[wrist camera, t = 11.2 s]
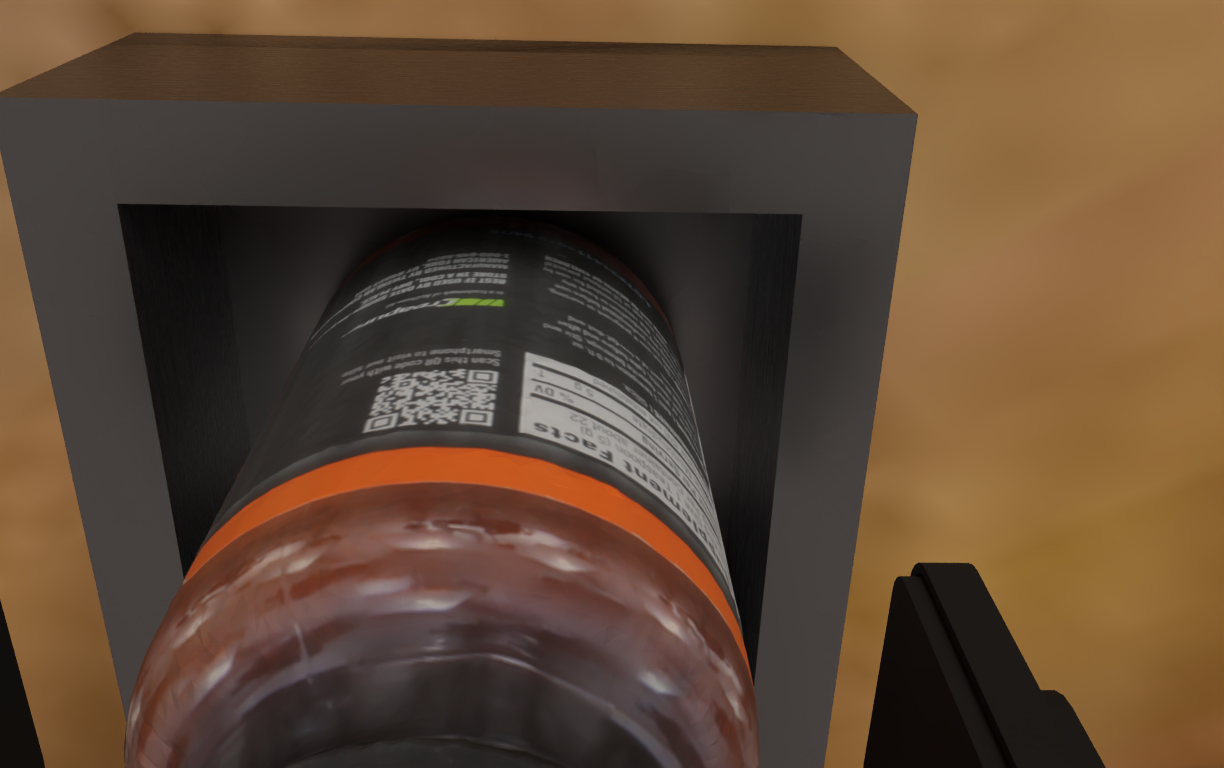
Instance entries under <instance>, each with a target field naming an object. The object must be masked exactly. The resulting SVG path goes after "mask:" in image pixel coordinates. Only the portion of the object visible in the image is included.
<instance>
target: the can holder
mask: <svg viewBox="0 0 1224 768" xmlns="http://www.w3.org/2000/svg"><path fill="white" fill-rule="evenodd" d="M917 117H918V114H917V113H916V112H915V111H913V110H912V109H911V108H910V107H909V106H907V105H906V104H905V103H904V102H903V101H901V100H900V99H899V98H898V97H896V96H895V95H894V94H893V93H892V92H890V91H889V90H888V89H887V88H886V87H884V86H883V85H882V84H881V83H880V82H878V81H877V80H876V79H875V78H874V77H872V76H871V75H870V74H869V73H867V72H866V71H865V70H864V69H863V68H861V67H860V66H859V65H858V64H857V63H855V62H854V61H853V60H852V59H851V58H849V57H848V56H847V55H846V54H845V53H843V52H842V51H841V50H840V49H838V48H837V47H813V46H764V45H715V44H666V43H617V42H568V41H519V40H470V39H421V38H372V37H323V36H274V35H225V34H176V33H133V34H130V35H128V36H126V37H124V38H121V39H119V40H117V41H115V42H112V43H110V44H108V45H106V46H103V47H101V48H99V49H96V50H94V51H92V52H90V53H87V54H85V55H83V56H81V57H78V58H76V59H74V60H71V61H69V62H67V63H65V64H62V65H60V66H58V67H56V68H53V69H51V70H49V71H47V72H44V73H42V74H40V75H37V76H35V77H33V78H31V79H28V80H26V81H24V82H22V83H19V84H17V85H15V86H13V87H10V88H8V89H6V90H3V91H1V92H0V151H1V156H2V160H3V165H4V169H5V174H6V178H7V183H8V187H9V192H10V196H11V201H12V205H13V210H14V215H15V219H16V224H17V228H18V233H19V237H20V242H21V246H22V251H23V255H24V260H25V264H26V269H27V273H28V278H29V282H30V287H31V291H32V296H33V301H34V305H35V310H36V314H37V319H38V323H39V328H40V332H41V337H42V341H43V346H44V350H45V355H46V359H47V364H48V368H49V373H50V378H51V382H52V387H53V391H54V396H55V400H56V405H57V409H58V414H59V418H60V423H61V427H62V432H63V436H64V441H65V445H66V450H67V454H68V459H69V464H70V468H71V473H72V477H73V482H74V486H75V491H76V495H77V500H78V504H79V509H80V513H81V518H82V522H83V527H84V531H85V536H86V540H87V545H88V550H89V554H90V559H91V563H92V568H93V572H94V577H95V581H96V586H97V590H98V595H99V599H100V604H101V608H102V613H103V617H104V622H105V627H106V631H107V636H108V640H109V645H110V649H111V654H112V658H113V663H114V667H115V672H116V676H117V681H118V685H119V690H120V694H121V699H122V703H123V708H124V713H125V717H126V722H127V717H128V709H129V701H130V697H131V694H132V691H133V689H134V686H135V683H136V680H137V677H138V674H139V670H140V667H141V664H142V661H143V659H144V657H145V654H146V652H147V650H148V648H149V646H150V644H151V642H152V639H153V637H154V635H155V633H156V631H157V629H158V628H159V626H160V624H161V622H162V620H163V619H164V617H165V615H166V612H167V610H168V608H169V606H170V604H171V602H172V600H173V598H174V597H175V595H176V594H177V592H178V590H179V588H180V586H181V584H182V582H183V580H184V578H185V576H186V574H187V572H188V570H189V568H190V566H191V564H192V563H193V561H194V559H195V557H196V553H197V552H198V550H199V549H200V546H201V544H202V543H203V541H204V540H205V538H206V536H207V534H208V532H209V530H210V528H211V526H212V524H213V522H214V520H215V518H216V516H217V514H218V513H219V511H220V509H221V507H222V505H223V503H224V501H225V499H226V496H227V495H228V493H229V491H230V490H231V488H232V486H233V484H234V482H235V480H236V478H237V475H238V474H239V472H240V470H241V468H242V466H243V465H244V463H245V462H246V459H247V457H248V455H249V453H250V451H251V449H252V447H253V445H254V443H255V441H256V439H257V437H258V436H259V434H260V432H261V430H262V428H263V426H264V424H265V422H266V421H267V419H268V417H269V415H270V411H271V410H272V408H273V407H274V405H275V403H276V401H277V399H278V398H279V395H280V394H281V392H282V390H283V388H284V385H285V383H286V381H287V379H288V377H289V375H290V374H291V372H292V370H293V368H294V366H295V364H296V363H297V361H298V359H299V358H300V355H301V353H302V351H303V350H304V347H305V346H306V344H307V342H308V340H309V338H310V336H311V334H312V332H313V330H314V329H315V327H316V326H317V324H318V322H319V319H320V317H321V315H322V313H323V312H324V310H325V308H326V306H327V305H328V303H329V301H330V299H331V298H332V297H333V295H334V294H335V293H336V291H337V290H338V289H339V287H340V286H341V284H342V283H343V281H344V280H345V279H346V278H347V277H348V276H349V275H350V274H351V273H352V272H353V271H354V270H355V269H356V268H357V267H358V266H359V265H360V264H361V263H362V262H363V261H365V260H366V259H367V258H368V257H369V256H370V255H372V254H373V253H374V252H376V251H377V250H378V249H380V248H381V247H382V246H384V245H385V244H387V243H389V242H390V241H392V240H394V239H396V238H398V237H400V236H402V235H406V234H407V233H409V232H411V231H412V230H415V229H418V228H420V227H424V226H427V225H430V224H434V223H438V222H442V221H446V220H450V219H454V218H458V217H470V216H481V215H498V216H510V217H518V218H524V219H528V220H540V221H544V222H549V223H552V224H555V225H558V226H560V227H563V228H565V229H568V230H570V231H573V232H575V233H577V234H579V235H581V236H583V237H584V238H586V239H588V240H590V241H592V242H594V243H596V244H597V245H598V246H600V247H601V248H603V249H604V250H606V251H607V252H609V253H610V254H612V255H613V256H615V257H616V258H617V259H619V260H620V261H621V262H622V263H623V264H624V265H625V266H626V267H627V268H629V269H630V270H631V271H632V272H633V273H634V274H635V275H636V276H637V277H638V278H639V279H640V280H641V281H642V283H643V284H644V285H645V287H646V288H647V289H648V291H649V292H650V293H651V295H652V296H653V297H654V298H655V300H656V301H657V302H658V304H659V306H660V307H661V309H662V311H663V313H664V314H665V316H666V318H667V320H668V323H669V325H670V327H671V329H672V331H673V335H674V339H675V341H676V342H677V346H678V350H679V352H680V355H681V359H682V362H683V367H684V373H685V376H686V378H687V383H688V387H689V392H690V397H691V401H692V405H693V410H694V414H695V419H696V424H697V428H698V433H699V437H700V441H701V446H702V451H703V456H704V461H705V465H706V470H707V475H708V479H709V483H710V488H711V492H712V497H713V501H714V505H715V510H716V514H717V519H718V523H719V528H720V532H721V537H722V542H723V546H724V551H725V555H726V560H727V565H728V569H729V574H730V579H731V583H732V588H733V592H734V596H735V600H736V605H737V609H738V613H739V617H740V620H741V625H742V633H743V641H744V646H745V649H746V653H747V657H748V662H749V667H750V672H751V677H752V682H753V687H754V692H755V697H756V707H757V717H758V730H759V752H760V767H759V768H824V761H825V754H826V747H827V740H828V734H829V727H830V720H831V713H832V706H833V699H834V692H835V685H836V678H837V671H838V664H839V657H840V650H841V643H842V637H843V630H844V623H845V616H846V609H847V602H848V595H849V588H850V581H851V574H852V567H853V560H854V553H855V546H856V540H857V533H858V526H859V519H860V512H861V505H862V498H863V491H864V484H865V477H866V470H867V463H868V456H869V449H870V443H871V436H872V429H873V422H874V415H875V408H876V401H877V394H878V387H879V380H880V373H881V366H882V359H883V352H884V346H885V339H886V332H887V325H888V318H889V311H890V304H891V297H892V290H893V283H894V276H895V269H896V262H897V255H898V249H899V242H900V235H901V228H902V221H903V214H904V207H905V200H906V193H907V186H908V179H909V172H910V165H911V158H912V152H913V145H914V138H915V131H916V124H917Z"/></svg>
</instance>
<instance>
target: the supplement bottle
mask: <svg viewBox="0 0 1224 768" xmlns="http://www.w3.org/2000/svg"><path fill="white" fill-rule="evenodd" d="M124 758H125V768H759V767H760V752H759V730H758V717H757V707H756V697H755V692H754V687H753V682H752V677H751V672H750V667H749V662H748V657H747V653H746V649H745V646H744V641H743V633H742V625H741V620H740V617H739V613H738V609H737V605H736V600H735V596H734V592H733V588H732V583H731V579H730V574H729V569H728V565H727V560H726V555H725V551H724V546H723V542H722V537H721V532H720V528H719V523H718V519H717V514H716V510H715V505H714V501H713V497H712V492H711V488H710V483H709V479H708V475H707V470H706V465H705V461H704V456H703V451H702V446H701V441H700V437H699V433H698V428H697V424H696V419H695V414H694V410H693V405H692V401H691V397H690V392H689V387H688V383H687V378H686V376H685V373H684V367H683V362H682V359H681V355H680V352H679V350H678V346H677V342H676V341H675V339H674V335H673V331H672V329H671V327H670V325H669V323H668V320H667V318H666V316H665V314H664V313H663V311H662V309H661V307H660V306H659V304H658V302H657V301H656V300H655V298H654V297H653V296H652V295H651V293H650V292H649V291H648V289H647V288H646V287H645V285H644V284H643V283H642V281H641V280H640V279H639V278H638V277H637V276H636V275H635V274H634V273H633V272H632V271H631V270H630V269H629V268H627V267H626V266H625V265H624V264H623V263H622V262H621V261H620V260H619V259H617V258H616V257H615V256H613V255H612V254H610V253H609V252H607V251H606V250H604V249H603V248H601V247H600V246H598V245H597V244H596V243H594V242H592V241H590V240H588V239H586V238H584V237H583V236H581V235H579V234H577V233H575V232H573V231H570V230H568V229H565V228H563V227H560V226H558V225H555V224H552V223H549V222H544V221H540V220H528V219H524V218H518V217H510V216H498V215H481V216H470V217H458V218H454V219H450V220H446V221H442V222H438V223H434V224H430V225H427V226H424V227H420V228H418V229H415V230H412V231H411V232H409V233H407V234H406V235H402V236H400V237H398V238H396V239H394V240H392V241H390V242H389V243H387V244H385V245H384V246H382V247H381V248H380V249H378V250H377V251H376V252H374V253H373V254H372V255H370V256H369V257H368V258H367V259H366V260H365V261H363V262H362V263H361V264H360V265H359V266H358V267H357V268H356V269H355V270H354V271H353V272H352V273H351V274H350V275H349V276H348V277H347V278H346V279H345V280H344V281H343V283H342V284H341V286H340V287H339V289H338V290H337V291H336V293H335V294H334V295H333V297H332V298H331V299H330V301H329V303H328V305H327V306H326V308H325V310H324V312H323V313H322V315H321V317H320V319H319V322H318V324H317V326H316V327H315V329H314V330H313V332H312V334H311V336H310V338H309V340H308V342H307V344H306V346H305V347H304V350H303V351H302V353H301V355H300V358H299V359H298V361H297V363H296V364H295V366H294V368H293V370H292V372H291V374H290V375H289V377H288V379H287V381H286V383H285V385H284V388H283V390H282V392H281V394H280V395H279V398H278V399H277V401H276V403H275V405H274V407H273V408H272V410H271V411H270V415H269V417H268V419H267V421H266V422H265V424H264V426H263V428H262V430H261V432H260V434H259V436H258V437H257V439H256V441H255V443H254V445H253V447H252V449H251V451H250V453H249V455H248V457H247V459H246V462H245V463H244V465H243V466H242V468H241V470H240V472H239V474H238V475H237V478H236V480H235V482H234V484H233V486H232V488H231V490H230V491H229V493H228V495H227V496H226V499H225V501H224V503H223V505H222V507H221V509H220V511H219V513H218V514H217V516H216V518H215V520H214V522H213V524H212V526H211V528H210V530H209V532H208V534H207V536H206V538H205V540H204V541H203V543H202V544H201V546H200V549H199V550H198V552H197V553H196V557H195V559H194V561H193V563H192V564H191V566H190V568H189V570H188V572H187V574H186V576H185V578H184V580H183V582H182V584H181V586H180V588H179V590H178V592H177V594H176V595H175V597H174V598H173V600H172V602H171V604H170V606H169V608H168V610H167V612H166V615H165V617H164V619H163V620H162V622H161V624H160V626H159V628H158V629H157V631H156V633H155V635H154V637H153V639H152V642H151V644H150V646H149V648H148V650H147V652H146V654H145V657H144V659H143V661H142V664H141V667H140V670H139V674H138V677H137V680H136V683H135V686H134V689H133V691H132V694H131V697H130V701H129V709H128V717H127V725H126V734H125V745H124Z"/></svg>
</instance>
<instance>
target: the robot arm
mask: <svg viewBox="0 0 1224 768" xmlns="http://www.w3.org/2000/svg"><path fill="white" fill-rule="evenodd" d="M0 768H45V765H44V760H43V756H42V752H41V749H40V745H39V741H38V737H37V734H36V730H35V726H34V723H33V719H32V715H31V712H30V708H29V704H28V701H27V697H26V693H25V689H24V686H23V682H22V678H21V675H20V671H19V667H18V664H17V660H16V656H15V653H14V649H13V645H12V642H11V638H10V634H9V630H8V627H7V623H6V619H5V616H4V612H3V608H2V605H1V601H0ZM863 768H1106V767H1105V766H1104V764H1103V762H1102V760H1101V758H1100V757H1099V755H1098V753H1097V751H1096V749H1095V748H1094V746H1093V744H1092V742H1091V740H1090V739H1089V737H1088V735H1087V733H1086V731H1085V730H1084V728H1083V726H1082V724H1081V722H1080V721H1079V719H1078V717H1077V715H1076V713H1075V712H1074V710H1073V708H1072V706H1071V705H1070V704H1069V702H1068V701H1067V700H1066V698H1065V697H1064V695H1062V694H1060V693H1059V692H1057V691H1055V690H1040V688H1039V686H1038V684H1037V682H1036V680H1035V679H1034V677H1033V675H1032V673H1031V671H1030V669H1029V667H1028V665H1027V663H1026V662H1025V660H1024V658H1023V656H1022V654H1021V652H1020V650H1019V648H1018V646H1017V645H1016V643H1015V641H1014V639H1013V637H1012V635H1011V633H1010V631H1009V630H1008V628H1007V626H1006V624H1005V622H1004V620H1003V618H1002V616H1001V614H1000V613H999V611H998V609H997V607H996V605H995V603H994V601H993V599H992V597H991V596H990V594H989V592H988V590H987V588H986V586H985V584H984V582H983V580H982V579H981V577H980V575H979V573H978V571H977V570H976V568H975V567H974V566H973V565H972V564H970V563H917V564H916V565H915V566H914V568H913V569H912V572H911V576H899V577H897V578H896V580H895V582H894V586H893V591H892V597H891V603H890V609H889V615H888V621H887V627H886V633H885V639H884V645H883V651H882V657H881V663H880V669H879V675H878V681H877V687H876V693H875V699H874V705H873V711H872V717H871V723H870V729H869V735H868V741H867V747H866V753H865V759H864V767H863Z"/></svg>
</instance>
